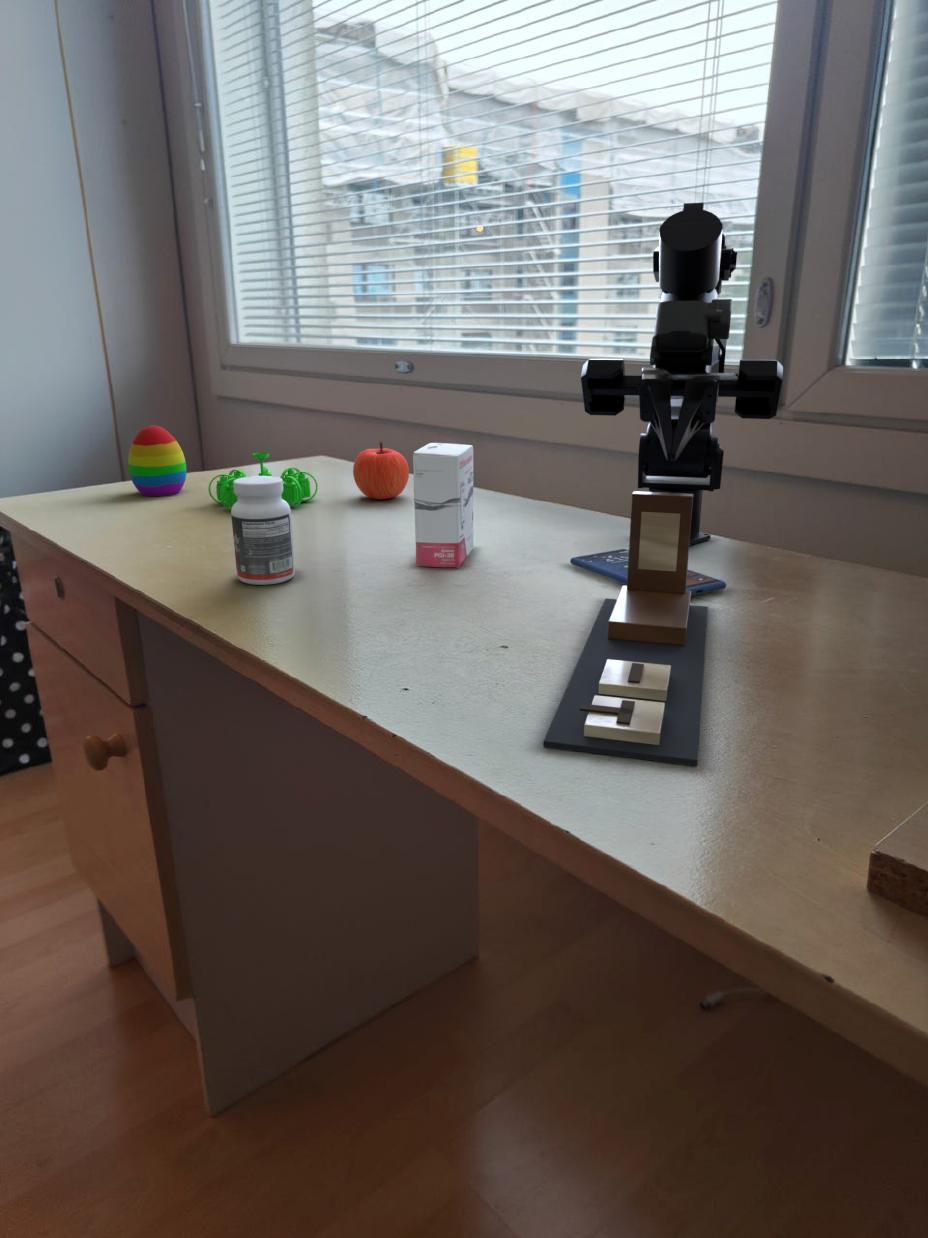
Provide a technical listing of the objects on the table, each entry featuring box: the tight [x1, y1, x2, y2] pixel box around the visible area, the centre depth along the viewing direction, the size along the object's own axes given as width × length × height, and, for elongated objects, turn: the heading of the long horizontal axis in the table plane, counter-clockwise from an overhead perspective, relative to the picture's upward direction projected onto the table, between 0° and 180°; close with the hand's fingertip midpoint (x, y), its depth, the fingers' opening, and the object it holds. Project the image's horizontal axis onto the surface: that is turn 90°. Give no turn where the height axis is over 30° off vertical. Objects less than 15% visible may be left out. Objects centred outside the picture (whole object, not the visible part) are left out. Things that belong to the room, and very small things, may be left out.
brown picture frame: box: [608, 490, 693, 646], centre depth 70 cm, size 10×6×10 cm, turn 164°
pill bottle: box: [230, 475, 296, 586], centre depth 85 cm, size 6×6×10 cm
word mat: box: [542, 598, 709, 767], centre depth 64 cm, size 29×9×1 cm, turn 164°
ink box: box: [412, 442, 474, 568], centre depth 91 cm, size 9×5×12 cm, turn 168°
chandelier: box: [208, 452, 318, 510], centre depth 121 cm, size 15×15×7 cm
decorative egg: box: [127, 424, 187, 497], centre depth 128 cm, size 8×8×10 cm
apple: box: [352, 441, 410, 500], centre depth 124 cm, size 8×8×8 cm
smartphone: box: [570, 548, 727, 597], centre depth 85 cm, size 8×1×15 cm
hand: (671, 457), depth 81 cm, fingers closed
